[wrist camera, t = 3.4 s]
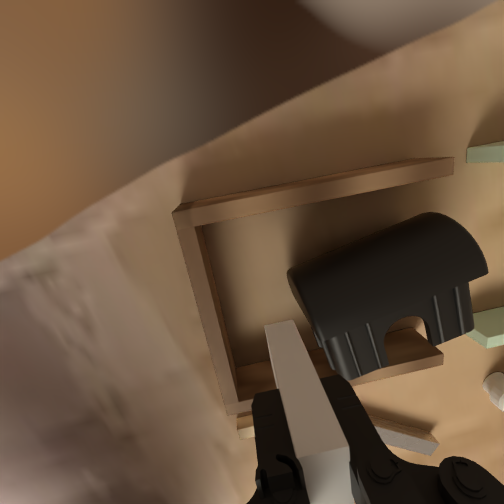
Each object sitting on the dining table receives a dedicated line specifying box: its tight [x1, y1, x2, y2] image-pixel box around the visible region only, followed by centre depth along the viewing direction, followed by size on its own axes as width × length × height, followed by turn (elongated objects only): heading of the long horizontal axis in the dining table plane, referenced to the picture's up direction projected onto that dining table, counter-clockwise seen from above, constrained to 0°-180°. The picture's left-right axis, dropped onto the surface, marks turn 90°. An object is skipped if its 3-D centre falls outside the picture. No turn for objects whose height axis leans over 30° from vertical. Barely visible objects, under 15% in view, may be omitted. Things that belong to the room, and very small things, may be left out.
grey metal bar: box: [368, 415, 439, 456], centre depth 27 cm, size 10×2×2 cm, turn 66°
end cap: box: [287, 212, 488, 381], centre depth 18 cm, size 10×7×7 cm
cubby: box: [172, 157, 454, 416], centre depth 19 cm, size 16×15×4 cm
